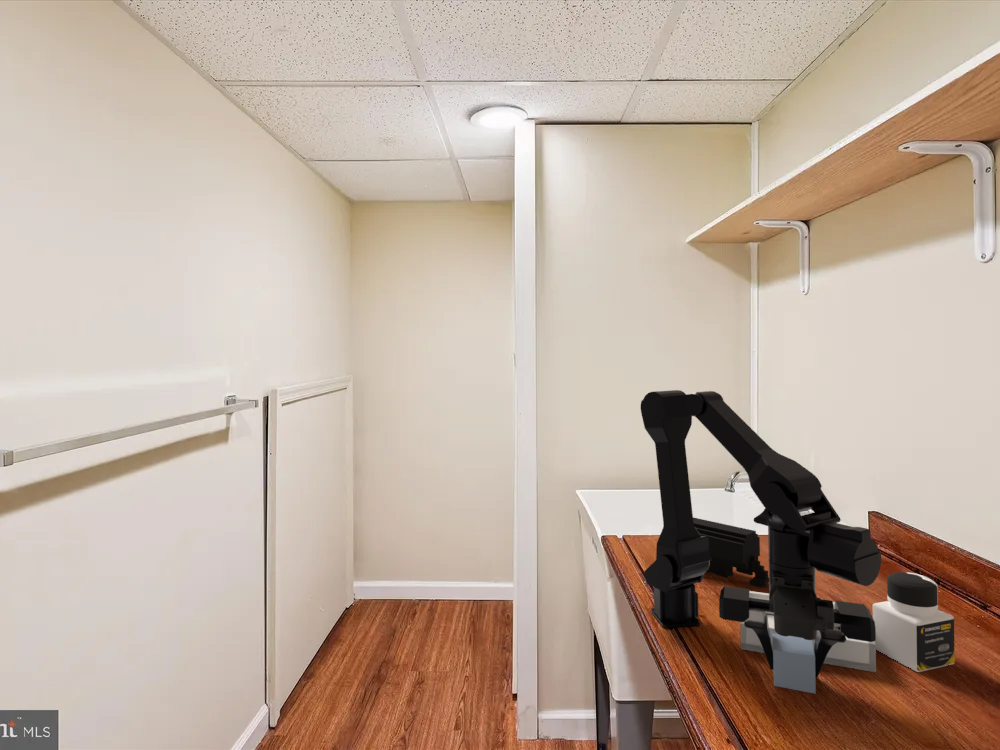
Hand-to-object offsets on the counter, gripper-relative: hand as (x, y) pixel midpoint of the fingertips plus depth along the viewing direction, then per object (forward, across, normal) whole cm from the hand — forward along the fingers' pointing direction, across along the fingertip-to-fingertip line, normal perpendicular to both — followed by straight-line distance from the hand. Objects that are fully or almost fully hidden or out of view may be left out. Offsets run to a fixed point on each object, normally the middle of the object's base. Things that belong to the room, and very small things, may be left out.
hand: (793, 672), depth 78 cm
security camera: (+1, -11, +38) cm, 39 cm away
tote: (+1, +2, +13) cm, 13 cm away
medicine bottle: (+1, +16, +13) cm, 21 cm away
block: (+1, 0, 0) cm, 1 cm away
